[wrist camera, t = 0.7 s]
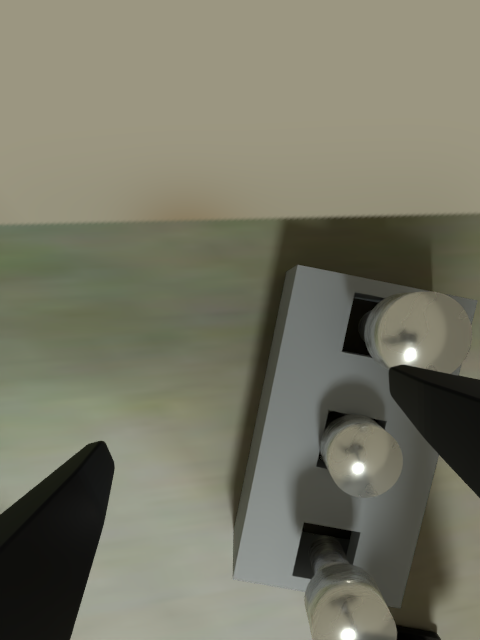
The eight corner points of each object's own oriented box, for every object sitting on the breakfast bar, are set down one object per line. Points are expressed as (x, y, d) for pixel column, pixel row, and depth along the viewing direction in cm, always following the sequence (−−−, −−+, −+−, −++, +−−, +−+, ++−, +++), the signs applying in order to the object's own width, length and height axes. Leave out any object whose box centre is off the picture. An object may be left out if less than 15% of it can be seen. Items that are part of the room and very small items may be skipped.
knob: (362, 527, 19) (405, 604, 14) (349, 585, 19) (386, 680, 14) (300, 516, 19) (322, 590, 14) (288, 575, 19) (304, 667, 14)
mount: (433, 300, 22) (477, 300, 18) (372, 555, 23) (400, 608, 19) (286, 271, 21) (297, 264, 17) (233, 530, 23) (232, 579, 19)
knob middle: (370, 403, 21) (410, 434, 16) (358, 458, 21) (393, 503, 16) (314, 393, 21) (337, 420, 16) (303, 447, 21) (322, 490, 16)
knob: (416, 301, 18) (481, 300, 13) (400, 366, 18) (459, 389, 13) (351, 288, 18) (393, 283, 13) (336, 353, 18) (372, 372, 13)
